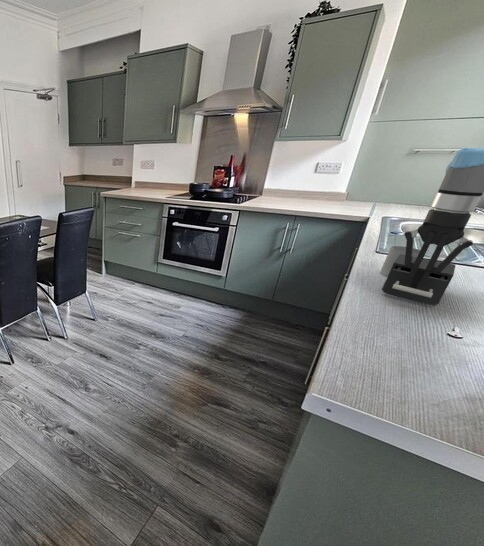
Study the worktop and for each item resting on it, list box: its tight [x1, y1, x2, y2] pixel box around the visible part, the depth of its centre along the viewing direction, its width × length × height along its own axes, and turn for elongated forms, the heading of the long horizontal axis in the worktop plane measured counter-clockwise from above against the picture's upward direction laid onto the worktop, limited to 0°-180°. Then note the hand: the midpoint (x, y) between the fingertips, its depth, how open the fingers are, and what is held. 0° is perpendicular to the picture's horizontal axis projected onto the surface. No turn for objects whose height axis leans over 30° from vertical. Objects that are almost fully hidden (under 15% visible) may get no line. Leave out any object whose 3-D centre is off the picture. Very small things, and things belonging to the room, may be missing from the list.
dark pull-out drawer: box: [382, 266, 448, 307], centre depth 94 cm, size 18×11×8 cm, turn 130°
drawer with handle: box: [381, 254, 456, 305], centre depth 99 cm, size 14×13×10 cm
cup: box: [379, 245, 421, 278], centre depth 111 cm, size 8×8×10 cm
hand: (411, 290), depth 91 cm, fingers closed
